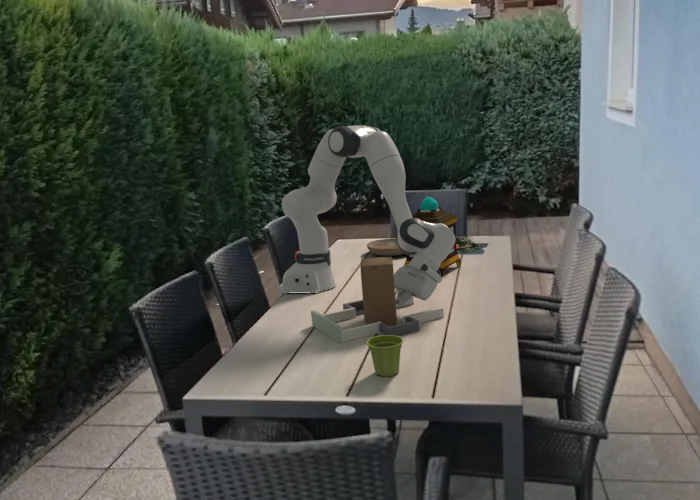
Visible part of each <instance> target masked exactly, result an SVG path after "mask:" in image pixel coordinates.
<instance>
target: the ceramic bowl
mask: <svg viewBox="0 0 700 500" xmlns="http://www.w3.org/2000/svg"><path fill="white" fill-rule="evenodd" d="M366 248H367V249H368V251H370V252H371V253H373V254H375V255H377V256H380V257H397V256H403V255H405V254H404V253H403V252H401V251H400V249H399V248H398V246H397V237H395V238H394V237H393V238H383V239H377V240H373V241H370V242H368V243H367V244H366Z"/></svg>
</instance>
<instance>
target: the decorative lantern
mask: <svg viewBox="0 0 700 500" xmlns="http://www.w3.org/2000/svg"><path fill="white" fill-rule="evenodd" d="M411 215H412V214H411ZM412 218H417V219H420V220H422V221H425V222H429V223H435V224H438V223H442V224H445V225H446V226H448V227H449V228H450V229H451V230H452V231H453V233H454V234H455V243H454V246H453V248H452V249H451V251H450V253H449V254H448V256H447V257H446V259H445V260H443V261H442V262H441V264H440V266H439V269H438V270H437V271H438V272H439V275H440V276H441V277H444V276H445V275H444V274H445V269H447V268H448V267H451V266H452V265H455V264H456V267H458V268H459V267H460V266H461V263H462V262H461V257H460V256H459V255H458V254H457V248H456V237H457V231H456V229H457V228H456V226H457V225H456V224H457V220H458V218H459V216H457V215H456V214H454V213H453V212H448V211H446V210H444V209H443V208H442V207H439V204H438V201H437V200H436V199H435V198H433V197H432V196H425V198H423V200H422V201H421V202H420V208H419V209H417V211H416V212H414V214H413V215H412ZM405 255H406V260H405V262H404V265H403V266H405V265H406V264H409V263H410V262H411V260H412V259H413V257H414V256H415V255H407V254H405Z"/></svg>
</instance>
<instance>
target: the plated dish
mask: <svg viewBox="0 0 700 500" xmlns="http://www.w3.org/2000/svg"><path fill="white" fill-rule="evenodd" d="M468 237H469V236H468V235H463V236H458V235H456V248H457V254H458V256H459V255H463V256H464V255H467V256H468V255H471V256H472V255H473V256H474V255H484V253H485V250H484V248H487V247H488V245H489V243H487V242H486V243H485V242H478V243H477V242H475V241H473V240H471V239H468Z"/></svg>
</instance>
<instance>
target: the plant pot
mask: <svg viewBox="0 0 700 500" xmlns="http://www.w3.org/2000/svg"><path fill="white" fill-rule="evenodd" d="M403 343H404V338H402V337H401V336H394V335H383V334H381V335H376V336H373V337H371V338H368V339H367V340H366V345H367V347H368V349H369V351H370V354H371V358H372V364H373V369H374V372H375V375H377V376H379V375H380V376H381V377H385V378H386V377H393V376H395V375H396V374H398V373H399V372H400V360H401V348H402V345H403Z"/></svg>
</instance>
